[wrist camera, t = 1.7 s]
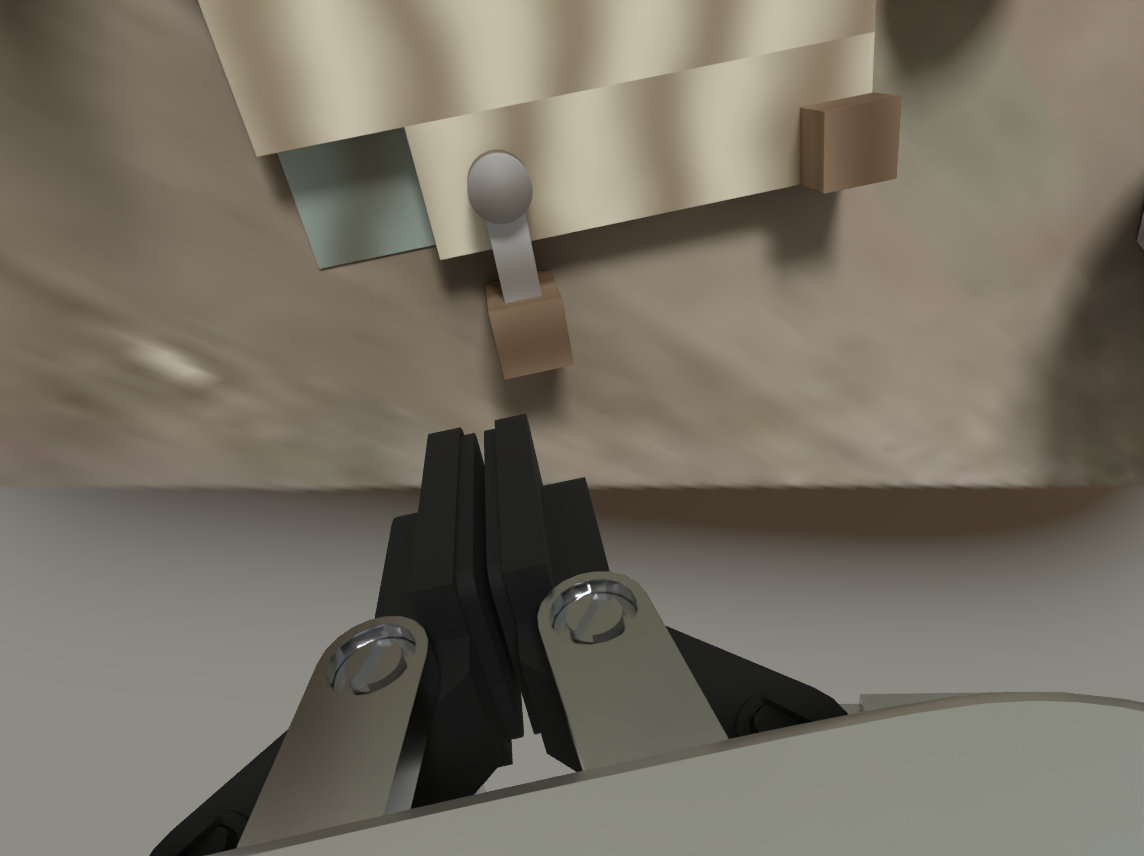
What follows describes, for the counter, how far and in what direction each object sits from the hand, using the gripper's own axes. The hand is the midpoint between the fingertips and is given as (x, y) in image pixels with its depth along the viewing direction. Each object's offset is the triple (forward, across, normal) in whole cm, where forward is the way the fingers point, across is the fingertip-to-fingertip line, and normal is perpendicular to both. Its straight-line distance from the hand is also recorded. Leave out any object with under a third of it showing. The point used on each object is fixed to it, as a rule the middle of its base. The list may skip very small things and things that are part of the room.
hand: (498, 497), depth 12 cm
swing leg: (+26, -1, +2) cm, 26 cm away
